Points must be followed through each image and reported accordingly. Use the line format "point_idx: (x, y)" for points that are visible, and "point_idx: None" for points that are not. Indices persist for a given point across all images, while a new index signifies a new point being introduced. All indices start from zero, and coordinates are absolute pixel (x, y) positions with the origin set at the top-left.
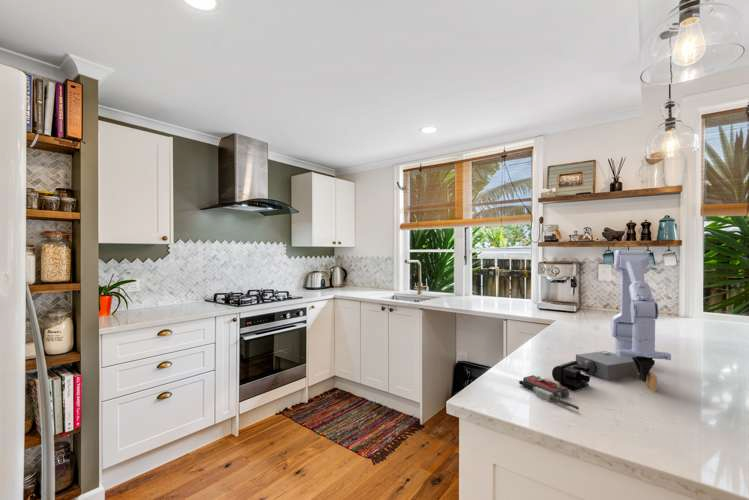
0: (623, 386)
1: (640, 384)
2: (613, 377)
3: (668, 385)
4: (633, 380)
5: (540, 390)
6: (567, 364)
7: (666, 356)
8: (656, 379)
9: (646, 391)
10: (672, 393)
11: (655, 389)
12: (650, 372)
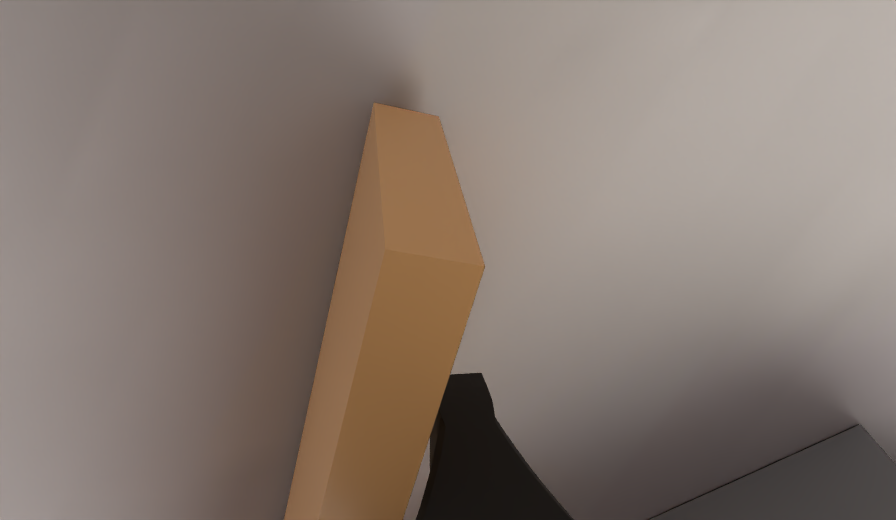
0: (803, 240)
1: None
2: (755, 497)
3: (10, 454)
4: None
5: None
6: None
7: None
8: (391, 204)
9: (551, 90)
10: (83, 97)
11: (396, 113)
12: (382, 504)
